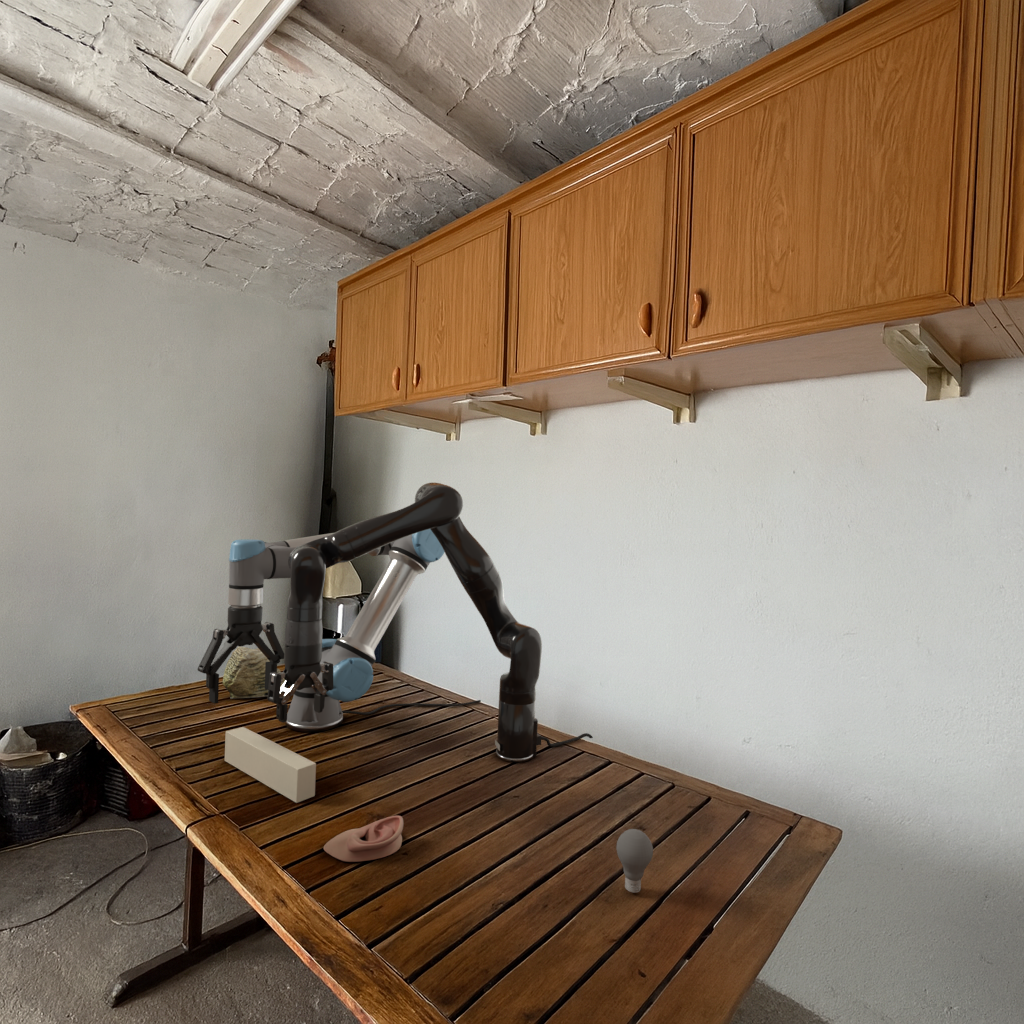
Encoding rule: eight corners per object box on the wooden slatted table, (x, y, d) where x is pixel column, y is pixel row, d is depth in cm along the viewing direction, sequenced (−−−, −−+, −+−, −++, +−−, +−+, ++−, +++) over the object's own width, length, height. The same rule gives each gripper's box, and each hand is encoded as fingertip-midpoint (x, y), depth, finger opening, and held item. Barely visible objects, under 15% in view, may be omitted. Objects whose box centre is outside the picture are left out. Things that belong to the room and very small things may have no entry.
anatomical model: (315, 834, 111) (345, 804, 122) (314, 856, 111) (344, 824, 123) (386, 846, 109) (410, 814, 120) (385, 869, 109) (409, 834, 120)
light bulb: (610, 879, 108) (613, 822, 108) (644, 879, 109) (647, 822, 109) (619, 902, 102) (622, 840, 102) (655, 901, 103) (658, 840, 103)
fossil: (218, 695, 195) (220, 647, 195) (278, 685, 208) (279, 640, 207) (228, 703, 189) (230, 653, 188) (289, 692, 201) (290, 645, 201)
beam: (224, 760, 149) (225, 731, 149) (242, 755, 153) (243, 726, 153) (296, 803, 131) (297, 769, 130) (314, 796, 134) (316, 763, 134)
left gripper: (284, 598, 161) (281, 681, 161) (183, 608, 141) (180, 703, 141) (301, 602, 156) (298, 688, 156) (199, 613, 136) (195, 711, 137)
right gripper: (322, 632, 141) (319, 704, 142) (262, 642, 130) (259, 720, 131) (342, 638, 137) (339, 713, 137) (282, 648, 126) (279, 729, 126)
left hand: (242, 695), depth 149 cm, fingers open, 13 cm apart
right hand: (300, 716), depth 134 cm, fingers open, 8 cm apart
